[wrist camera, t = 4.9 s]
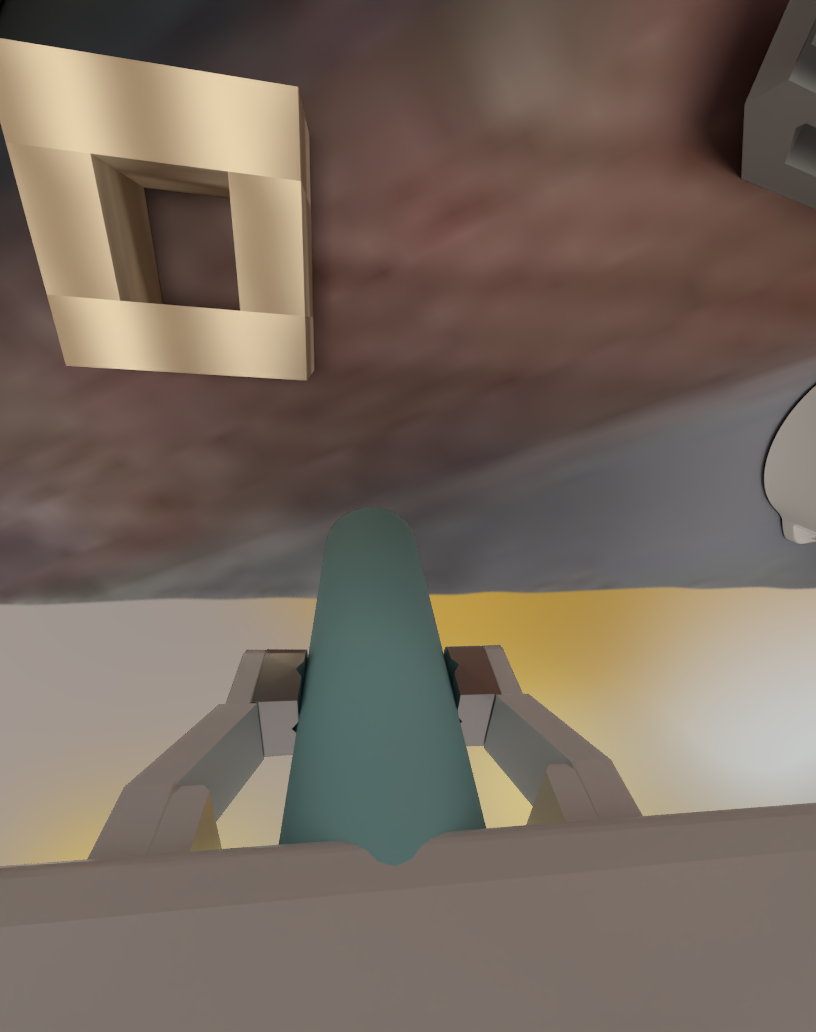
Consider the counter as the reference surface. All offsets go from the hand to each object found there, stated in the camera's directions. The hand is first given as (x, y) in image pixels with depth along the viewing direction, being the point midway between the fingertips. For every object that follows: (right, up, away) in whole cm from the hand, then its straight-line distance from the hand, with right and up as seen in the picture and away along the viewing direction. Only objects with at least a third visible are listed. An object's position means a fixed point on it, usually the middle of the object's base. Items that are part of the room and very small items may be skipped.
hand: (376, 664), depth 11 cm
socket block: (-11, +19, +13) cm, 25 cm away
